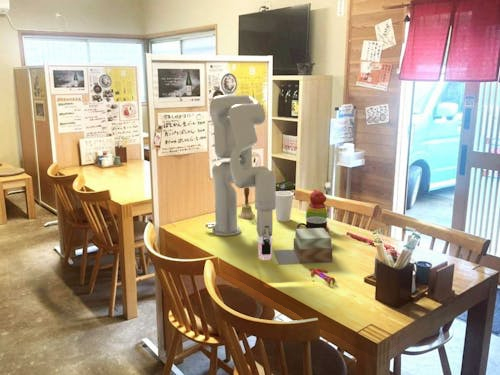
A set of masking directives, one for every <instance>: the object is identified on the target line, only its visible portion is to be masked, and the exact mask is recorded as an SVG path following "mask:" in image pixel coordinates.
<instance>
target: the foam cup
mask: <svg viewBox="0 0 500 375" xmlns="http://www.w3.org/2000/svg"><path fill="white" fill-rule="evenodd" d="M293 201H294V192H291V191H288V190H287V191H286V190H278V191H276V207H275V209H274V211H275V216H276V218H275V219H276V221H278V222H283V223H285V222H289V221H290V219H291V214H292V207H293Z"/></svg>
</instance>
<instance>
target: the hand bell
mask: <svg viewBox="0 0 500 375" xmlns="http://www.w3.org/2000/svg"><path fill="white" fill-rule="evenodd" d="M243 189H244V190H243V194H244V204H243V205H242V207H241V211H240V213H239V214H238V218H240V219H247V220H248V219H249V220H250V219H253V218H256V214H255V213H254V212H253V210H252V205H251V204H249V196H250V188H243Z"/></svg>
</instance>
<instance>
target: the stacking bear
mask: <svg viewBox="0 0 500 375" xmlns="http://www.w3.org/2000/svg"><path fill="white" fill-rule="evenodd" d="M327 199H328V198H327V195H325V194H324V193H323V192H322V191H321V190H317V189H314V190H313V191H312V192H311V193H310V194H309V201H310V203H309V204H308V205H307V208H306V211H305V220H306V219H307V218H309V217H322V218H325V219H327V218H328V212H327V211H328V210H327V207H326V204H325V203H326V200H327ZM327 220H328V219H327ZM305 229H307V228H306V227H305ZM326 232H327V233H329V232H330V229H329V227H328V224H327V225H326Z"/></svg>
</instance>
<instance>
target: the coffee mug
mask: <svg viewBox="0 0 500 375" xmlns="http://www.w3.org/2000/svg"><path fill="white" fill-rule="evenodd" d="M305 222H306V223H303V222H302V223H299V224H297V227H296V229H300V226H301V225H303V226H305V229H306V228H307V229H308V228H324V229H325V230H326V225H327V226H328V219H325V218H322V217H309V218H307V219H306V218H305Z"/></svg>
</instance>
